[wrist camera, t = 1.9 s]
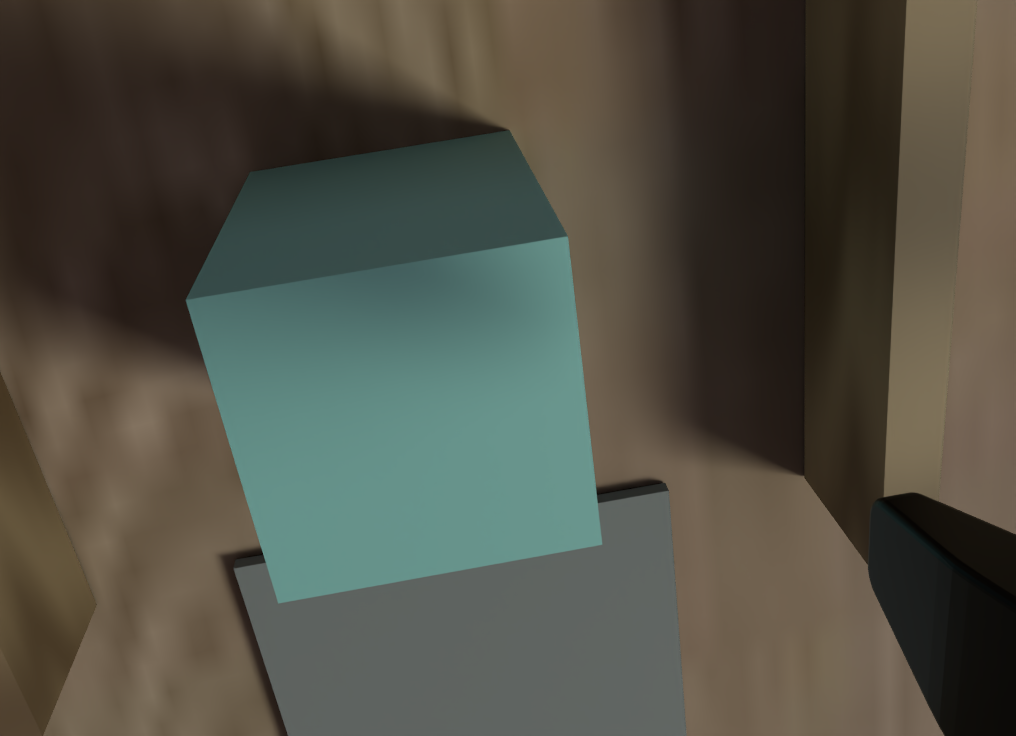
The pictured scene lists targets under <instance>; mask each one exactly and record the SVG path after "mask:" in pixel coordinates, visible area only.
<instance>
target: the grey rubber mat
mask: <svg viewBox="0 0 1016 736" xmlns="http://www.w3.org/2000/svg"><path fill="white" fill-rule="evenodd" d="M597 502H598V511H599V520H600V529H601V537H602V545H598V546H592V547H587V548H581V549H576V550H570V551H565V552H559V553H554V554H548V555H543V556H537V557H532V558H526V559H521V560H515V561H510V562H504V563H499V564H493V565H488V566H482V567H477V568H471V569H466V570H460V571H455V572H449V573H444V574H438V575H433V576H427V577H422V578H416V579H411V580H405V581H400V582H394V583H389V584H383V585H377V586H372V587H366V588H361V589H355V590H350V591H344V592H339V593H333V594H328V595H322V596H317V597H311V598H306V599H300V600H295V601H289V602H284V603H278V601H277V597H276V594H275V591H274V588H273V584H272V581H271V578H270V575H269V571H268V568H267V565H266V561H265V558H264V555H258V556H253V557H247V558H242V559H236V560H235V564H234V572H235V575H236V578H237V581H238V584H239V587H240V590H241V593H242V596H243V599H244V602H245V605H246V608H247V611H248V614H249V618H250V621H251V624H252V627H253V630H254V633H255V636H256V639H257V642H258V645H259V648H260V651H261V654H262V657H263V660H264V663H265V667H266V670H267V673H268V676H269V679H270V682H271V685H272V688H273V691H274V694H275V697H276V700H277V703H278V706H279V709H280V712H281V716H282V719H283V722H284V725H285V728H286V731H287V734H288V736H686V723H685V709H684V695H683V681H682V667H681V653H680V640H679V626H678V612H677V598H676V584H675V570H674V556H673V543H672V529H671V515H670V501H669V490H668V488H667V486H666V484H665V483H661V484H656V485H650V486H645V487H639V488H633V489H628V490H622V491H617V492H611V493H605V494H600V495H597Z"/></svg>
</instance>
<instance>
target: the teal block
mask: <svg viewBox="0 0 1016 736" xmlns="http://www.w3.org/2000/svg"><path fill="white" fill-rule="evenodd" d="M186 303H187V306H188V309H189V313H190V316H191V319H192V323H193V326H194V329H195V332H196V336H197V339H198V342H199V345H200V349H201V352H202V355H203V359H204V362H205V365H206V368H207V372H208V375H209V378H210V381H211V385H212V388H213V391H214V395H215V398H216V401H217V404H218V408H219V411H220V414H221V417H222V421H223V424H224V427H225V431H226V434H227V437H228V440H229V444H230V447H231V450H232V453H233V457H234V460H235V463H236V467H237V470H238V473H239V476H240V480H241V483H242V486H243V489H244V493H245V496H246V499H247V503H248V506H249V509H250V512H251V516H252V519H253V522H254V525H255V529H256V532H257V535H258V539H259V542H260V545H261V548H262V552H263V555H264V558H265V561H266V565H267V568H268V571H269V575H270V578H271V581H272V584H273V588H274V591H275V594H276V597H277V601H278V603H284V602H289V601H295V600H300V599H306V598H311V597H317V596H322V595H328V594H333V593H339V592H344V591H350V590H355V589H361V588H366V587H372V586H377V585H383V584H389V583H394V582H400V581H405V580H411V579H416V578H422V577H427V576H433V575H438V574H444V573H449V572H455V571H460V570H466V569H471V568H477V567H482V566H488V565H493V564H499V563H504V562H510V561H515V560H521V559H526V558H532V557H537V556H543V555H548V554H554V553H559V552H565V551H570V550H576V549H581V548H587V547H592V546H598V545H602V537H601V529H600V520H599V511H598V502H597V493H596V484H595V475H594V466H593V457H592V448H591V439H590V430H589V421H588V412H587V403H586V395H585V386H584V377H583V368H582V359H581V350H580V341H579V332H578V323H577V314H576V305H575V296H574V287H573V278H572V269H571V260H570V252H569V243H568V236H567V234H566V232H565V230H564V228H563V227H562V225H561V223H560V221H559V219H558V218H557V216H556V214H555V212H554V210H553V209H552V207H551V205H550V203H549V201H548V199H547V198H546V196H545V194H544V192H543V190H542V189H541V187H540V185H539V183H538V181H537V179H536V178H535V176H534V174H533V172H532V170H531V169H530V167H529V165H528V163H527V161H526V160H525V158H524V156H523V154H522V152H521V150H520V149H519V147H518V145H517V143H516V141H515V140H514V138H513V136H512V134H511V132H510V130H508V131H502V132H495V133H489V134H483V135H477V136H471V137H464V138H458V139H452V140H446V141H440V142H433V143H427V144H421V145H415V146H409V147H402V148H396V149H390V150H384V151H378V152H371V153H365V154H359V155H353V156H347V157H340V158H334V159H328V160H322V161H316V162H309V163H303V164H297V165H291V166H285V167H278V168H272V169H266V170H260V171H254V172H250V173H249V175H248V177H247V179H246V181H245V183H244V185H243V187H242V189H241V191H240V193H239V195H238V197H237V199H236V201H235V203H234V205H233V207H232V209H231V211H230V213H229V215H228V217H227V219H226V221H225V223H224V225H223V227H222V229H221V231H220V233H219V235H218V237H217V239H216V241H215V243H214V245H213V247H212V249H211V251H210V253H209V255H208V257H207V259H206V261H205V263H204V265H203V267H202V269H201V271H200V273H199V275H198V276H197V278H196V280H195V282H194V284H193V286H192V288H191V290H190V292H189V294H188V296H187V298H186Z"/></svg>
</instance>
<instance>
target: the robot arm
mask: <svg viewBox="0 0 1016 736" xmlns="http://www.w3.org/2000/svg"><path fill="white" fill-rule="evenodd" d="M868 571H869V578H870V582H871V585H872V588H873V591H874V593H875V595H876V597H877V599H878V601H879V603H880V605H881V608H882V610H883V612H884V614H885V616H886V618H887V620H888V622H889V624H890V626H891V628H892V631H893V633H894V635H895V637H896V639H897V641H898V643H899V645H900V647H901V649H902V651H903V654H904V656H905V658H906V660H907V662H908V664H909V666H910V668H911V670H912V672H913V674H914V677H915V679H916V681H917V683H918V685H919V687H920V689H921V691H922V693H923V695H924V697H925V699H926V702H927V704H928V706H929V708H930V710H931V711H932V713H933V715H934V717H935V719H936V721H937V723H938V725H939V727H940V729H941V730H942V732H943V734H944V735H945V736H1016V534H1013V533H1011V532H1009V531H1006V530H1004V529H1002V528H999V527H997V526H995V525H992V524H990V523H988V522H985V521H983V520H981V519H978V518H976V517H974V516H971V515H969V514H967V513H964V512H962V511H960V510H957V509H955V508H953V507H950V506H948V505H946V504H943V503H941V502H939V501H936V500H934V499H932V498H929V497H927V496H925V495H922V494H919V493H915V492H909V493H903V494H898V495H892V496H887V497H881V498H878V499H877V500H876V501H875V502H874V503H873V504H872V507H871V510H870V526H869V552H868Z"/></svg>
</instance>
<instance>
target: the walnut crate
mask: <svg viewBox="0 0 1016 736" xmlns="http://www.w3.org/2000/svg"><path fill="white" fill-rule="evenodd" d="M976 12H977V0H806V90H805V469H804V478H805V479H806V481H807V482H808V483H809V485H810V486H811V487H812V489H813V490H814V492H815V493H816V494H817V496H818V497H819V498H820V500H821V501H822V503H823V504H824V505H825V507H826V508H827V509H828V511H829V512H830V514H831V515H832V516H833V518H834V519H835V520H836V522H837V523H838V525H839V526H840V527H841V529H842V530H843V531H844V533H845V534H846V536H847V537H848V538H849V540H850V541H851V542H852V544H853V545H854V547H855V548H856V549H857V551H858V552H859V553H860V555H861V556H862V558H863V559H864V560H865V562H866V563H867V564H868V552H869V526H870V510H871V507H872V504H873V503H874V502H875V501H876V500H877V499H878V498H881V497H887V496H892V495H898V494H903V493H909V492H915V493H919V494H922V495H925V496H927V497H929V498H932V499H934V500H936V501H939V492H940V479H941V466H942V453H943V440H944V427H945V414H946V401H947V388H948V375H949V362H950V349H951V336H952V323H953V310H954V297H955V285H956V272H957V259H958V246H959V233H960V220H961V207H962V194H963V181H964V168H965V155H966V142H967V129H968V116H969V103H970V90H971V77H972V64H973V51H974V38H975V25H976ZM96 605H97V604H96V602H95V600H94V597H93V595H92V592H91V590H90V588H89V585H88V583H87V580H86V578H85V575H84V573H83V571H82V568H81V566H80V563H79V561H78V559H77V556H76V554H75V551H74V549H73V546H72V544H71V542H70V539H69V537H68V534H67V532H66V530H65V527H64V525H63V522H62V520H61V518H60V515H59V513H58V510H57V508H56V505H55V503H54V501H53V498H52V496H51V493H50V491H49V489H48V486H47V484H46V481H45V479H44V476H43V474H42V472H41V469H40V467H39V464H38V462H37V460H36V457H35V455H34V452H33V450H32V447H31V445H30V443H29V440H28V438H27V435H26V433H25V431H24V428H23V426H22V423H21V421H20V418H19V416H18V414H17V411H16V409H15V406H14V404H13V402H12V399H11V397H10V394H9V392H8V389H7V387H6V385H5V382H4V380H3V377H2V375H1V373H0V736H43V734H44V732H45V729H46V727H47V724H48V722H49V719H50V717H51V715H52V712H53V710H54V707H55V705H56V702H57V700H58V698H59V695H60V693H61V690H62V688H63V685H64V683H65V681H66V678H67V676H68V673H69V671H70V668H71V666H72V664H73V661H74V659H75V656H76V654H77V651H78V649H79V647H80V644H81V642H82V639H83V637H84V634H85V632H86V630H87V627H88V625H89V622H90V620H91V617H92V615H93V613H94V610H95V608H96Z"/></svg>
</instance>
